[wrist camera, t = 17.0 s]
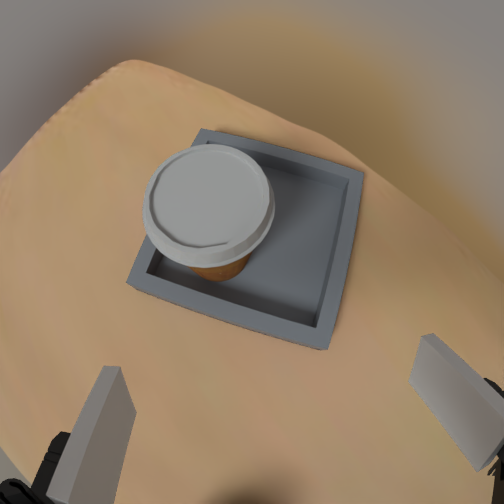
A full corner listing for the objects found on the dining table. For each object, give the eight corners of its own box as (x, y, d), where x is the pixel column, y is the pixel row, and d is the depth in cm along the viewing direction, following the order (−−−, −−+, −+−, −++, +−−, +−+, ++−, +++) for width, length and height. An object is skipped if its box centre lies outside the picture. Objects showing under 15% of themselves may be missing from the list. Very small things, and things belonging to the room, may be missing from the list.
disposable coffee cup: (178, 304, 29) (139, 272, 18) (170, 218, 32) (138, 151, 21) (272, 289, 30) (291, 248, 18) (255, 205, 33) (262, 132, 21)
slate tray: (356, 186, 35) (363, 172, 32) (320, 350, 28) (327, 349, 25) (203, 143, 36) (201, 128, 34) (136, 289, 30) (126, 282, 27)
